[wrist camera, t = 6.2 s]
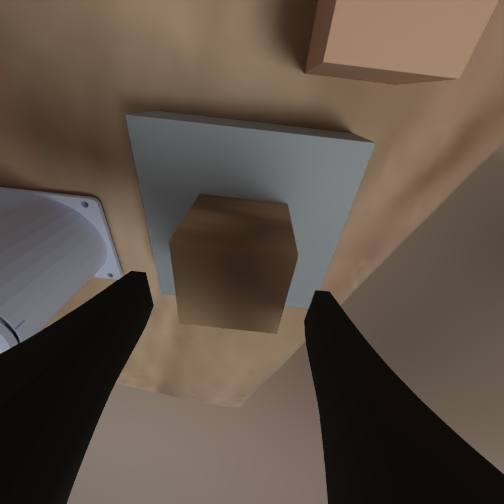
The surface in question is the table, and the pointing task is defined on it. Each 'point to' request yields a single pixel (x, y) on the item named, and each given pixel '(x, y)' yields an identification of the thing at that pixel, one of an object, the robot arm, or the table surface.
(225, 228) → the walnut cube
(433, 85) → the table surface
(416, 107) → the table surface
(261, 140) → the base block
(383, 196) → the table surface
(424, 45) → the terracotta cube
